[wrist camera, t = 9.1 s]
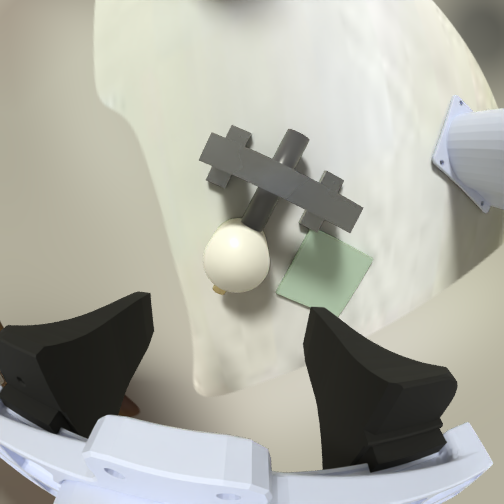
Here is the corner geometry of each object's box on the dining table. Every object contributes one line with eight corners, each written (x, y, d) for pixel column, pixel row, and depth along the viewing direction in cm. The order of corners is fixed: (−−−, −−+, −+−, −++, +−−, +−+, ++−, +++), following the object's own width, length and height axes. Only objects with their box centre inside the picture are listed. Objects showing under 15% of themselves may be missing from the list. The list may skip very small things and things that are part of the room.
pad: (371, 257, 21) (373, 258, 21) (336, 316, 23) (337, 318, 22) (311, 225, 20) (312, 226, 20) (276, 291, 22) (276, 293, 22)
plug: (319, 151, 19) (334, 147, 15) (245, 291, 22) (243, 316, 18) (268, 124, 18) (272, 114, 14) (197, 269, 21) (186, 290, 18)
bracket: (341, 180, 19) (374, 185, 13) (315, 230, 20) (338, 255, 15) (232, 126, 18) (223, 108, 12) (207, 179, 19) (187, 184, 14)
